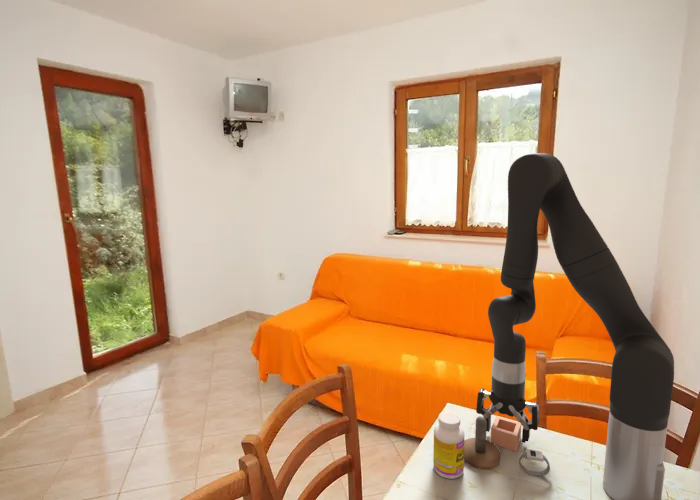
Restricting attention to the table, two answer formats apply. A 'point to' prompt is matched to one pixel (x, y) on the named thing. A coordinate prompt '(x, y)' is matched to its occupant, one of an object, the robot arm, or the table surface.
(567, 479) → the table surface
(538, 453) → the wristwatch
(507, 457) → the table surface
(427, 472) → the table surface
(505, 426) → the pink hollow square block
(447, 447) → the supplement bottle
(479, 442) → the post stand
